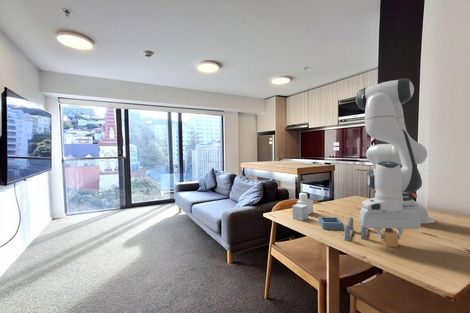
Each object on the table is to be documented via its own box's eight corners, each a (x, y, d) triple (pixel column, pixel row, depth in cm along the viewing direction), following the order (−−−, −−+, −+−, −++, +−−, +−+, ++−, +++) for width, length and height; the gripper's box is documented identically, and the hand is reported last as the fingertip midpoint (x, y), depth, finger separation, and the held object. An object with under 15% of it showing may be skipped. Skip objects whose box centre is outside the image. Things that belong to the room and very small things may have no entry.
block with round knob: (392, 242, 87) (392, 227, 87) (397, 246, 83) (397, 231, 83) (381, 241, 87) (380, 227, 87) (386, 246, 84) (386, 230, 83)
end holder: (337, 223, 110) (337, 217, 110) (343, 229, 102) (343, 223, 101) (319, 222, 112) (318, 216, 112) (323, 229, 103) (322, 222, 103)
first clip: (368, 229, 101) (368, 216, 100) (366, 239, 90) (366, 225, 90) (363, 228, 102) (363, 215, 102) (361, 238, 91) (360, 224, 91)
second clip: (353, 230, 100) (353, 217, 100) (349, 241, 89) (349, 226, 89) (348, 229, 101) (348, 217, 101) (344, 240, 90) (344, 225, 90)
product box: (302, 221, 116) (301, 207, 115) (292, 218, 120) (292, 205, 120) (308, 218, 119) (308, 205, 119) (298, 216, 124) (298, 203, 124)
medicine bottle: (302, 210, 135) (302, 191, 135) (313, 212, 130) (313, 192, 130) (296, 213, 130) (296, 193, 130) (307, 215, 125) (307, 194, 125)
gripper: (413, 201, 86) (414, 236, 86) (357, 201, 89) (358, 234, 90) (424, 205, 80) (425, 243, 80) (363, 205, 83) (364, 241, 84)
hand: (389, 238), depth 85 cm, fingers closed on block with round knob, 4 cm apart
